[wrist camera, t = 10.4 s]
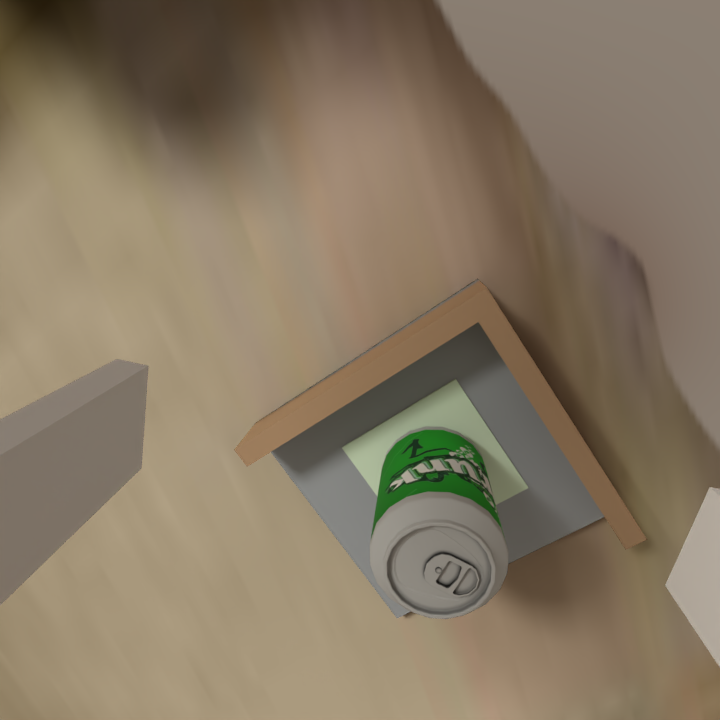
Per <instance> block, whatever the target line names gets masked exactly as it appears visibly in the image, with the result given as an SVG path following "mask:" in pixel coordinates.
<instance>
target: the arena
mask: <svg viewBox="0 0 720 720" xmlns="http://www.w3.org/2000/svg"><path fill="white" fill-rule="evenodd" d="M455 378H456V380H457V381H458V383H459V384H460V386H461V387H462V389H463V390H464V392H465V393H466V395H467V396H468V398H469V399H470V401H471V402H472V404H473V405H474V407H475V408H476V410H477V411H478V413H479V414H480V416H481V417H482V419H483V420H484V422H485V423H486V425H487V426H488V428H489V429H490V431H491V432H492V434H493V435H494V437H495V438H496V440H497V441H498V443H499V444H500V446H501V447H502V449H503V450H504V452H505V453H506V455H507V456H508V457H509V459H510V460H511V462H512V463H513V465H514V466H515V468H516V469H517V471H518V472H519V474H520V475H521V477H522V478H523V480H524V481H525V483H526V484H527V486H528V489H526V490H524V491H522V492H520V493H518V494H516V495H514V496H512V497H510V498H508V499H507V500H505V501H503V502H501V503H499V504H497V505H496V507H497V511H498V515H499V518H500V522H501V526H502V529H503V533H504V537H505V541H506V544H507V548H508V552H509V554H508V564H509V563H511V562H513V561H515V560H517V559H519V558H521V557H523V556H525V555H527V554H529V553H531V552H534V551H536V550H538V549H540V548H542V547H544V546H546V545H548V544H550V543H552V542H554V541H556V540H558V539H560V538H562V537H564V536H566V535H568V534H570V533H572V532H574V531H576V530H578V529H580V528H583V527H585V526H587V525H589V524H591V523H593V522H595V521H597V520H599V519H601V518H603V517H605V518H606V520H607V521H608V523H609V524H610V526H611V527H612V529H613V531H614V532H615V534H616V535H617V537H618V538H619V540H620V541H621V543H622V544H623V546H624V547H625V549H628V548H630V547H633V546H635V545H637V544H639V543H641V542H643V541H645V540H647V539H646V537H645V535H644V534H643V532H642V531H641V529H640V528H639V526H638V524H637V523H636V521H635V520H634V518H633V517H632V515H631V513H630V512H629V510H628V509H627V507H626V506H625V504H624V502H623V501H622V499H621V498H620V496H619V495H618V493H617V491H616V490H615V488H614V487H613V485H612V484H611V482H610V480H609V479H608V477H607V476H606V474H605V473H604V471H603V469H602V468H601V466H600V465H599V463H598V462H597V460H596V458H595V457H594V455H593V454H592V452H591V451H590V449H589V447H588V446H587V444H586V443H585V441H584V440H583V438H582V436H581V435H580V433H579V432H578V430H577V429H576V427H575V425H574V424H573V422H572V421H571V419H570V418H569V416H568V414H567V413H566V411H565V410H564V408H563V407H562V405H561V403H560V402H559V400H558V399H557V397H556V396H555V394H554V392H553V391H552V389H551V388H550V386H549V385H548V383H547V381H546V380H545V378H544V377H543V375H542V374H541V372H540V370H539V369H538V367H537V366H536V364H535V363H534V361H533V359H532V358H531V356H530V355H529V353H528V352H527V350H526V348H525V347H524V345H523V344H522V342H521V341H520V339H519V337H518V336H517V334H516V333H515V331H514V330H513V328H512V326H511V325H510V323H509V322H508V320H507V319H506V317H505V315H504V314H503V312H502V311H501V309H500V308H499V306H498V304H497V303H496V301H495V300H494V298H493V297H492V295H491V293H490V292H489V290H488V289H487V287H486V286H485V285H484V284H483V283H481V282H480V281H479V280H478V279H477V280H475V281H474V282H472V283H471V284H469V285H468V286H466V287H464V288H463V289H461V290H460V291H458V292H457V293H455V294H454V295H452V296H451V297H449V298H447V299H446V300H444V301H443V302H441V303H440V304H438V305H437V306H435V307H434V308H432V309H431V310H429V311H427V312H426V313H424V314H423V315H421V316H420V317H418V318H417V319H415V320H414V321H412V322H410V323H409V324H407V325H406V326H404V327H403V328H401V329H400V330H398V331H397V332H395V333H393V334H392V335H390V336H389V337H387V338H386V339H384V340H383V341H381V342H380V343H378V344H377V345H375V346H373V347H372V348H370V349H369V350H367V351H366V352H364V353H363V354H361V355H360V356H358V357H356V358H355V359H353V360H352V361H350V362H349V363H347V364H346V365H344V366H343V367H341V368H339V369H338V370H336V371H335V372H333V373H332V374H330V375H329V376H327V377H326V378H324V379H323V380H321V381H319V382H318V383H316V384H315V385H313V386H312V387H310V388H309V389H307V390H306V391H304V392H302V393H301V394H299V395H298V396H296V397H295V398H293V399H292V400H290V401H289V402H287V403H286V404H284V405H282V406H281V407H279V408H278V409H276V410H275V411H273V412H272V413H270V414H269V415H267V416H265V417H264V418H262V419H261V420H259V421H258V422H256V423H255V425H254V426H253V427H252V428H251V430H250V431H249V432H248V433H247V434H246V436H245V437H244V438H243V439H242V441H241V442H240V443H239V444H238V446H237V447H236V448H235V449H234V450H235V451H236V453H237V454H238V455H239V457H240V458H241V459H242V461H243V462H244V463H245V464H246V466H249V465H251V464H252V463H254V462H255V461H257V460H259V459H260V458H262V457H263V456H265V455H267V454H268V453H270V452H271V453H272V454H273V456H274V457H275V458H276V459H277V461H278V462H279V463H280V465H281V466H282V467H283V469H284V470H285V471H286V473H287V474H288V475H289V477H290V478H291V479H292V481H293V482H294V483H295V484H296V486H297V487H298V488H299V490H300V491H301V492H302V494H303V495H304V496H305V498H306V499H307V500H308V502H309V503H310V504H311V506H312V507H313V508H314V509H315V511H316V512H317V513H318V515H319V516H320V517H321V519H322V520H323V521H324V523H325V524H326V525H327V527H328V528H329V529H330V531H331V532H332V533H333V535H334V536H335V537H336V538H337V540H338V541H339V542H340V544H341V545H342V546H343V548H344V549H345V550H346V552H347V553H348V554H349V556H350V557H351V558H352V560H353V561H354V562H355V563H356V565H357V566H358V567H359V569H360V570H361V571H362V573H363V574H364V575H365V577H366V578H367V579H368V581H369V582H370V583H371V585H372V586H373V587H374V588H375V590H376V591H377V592H378V594H379V595H380V596H381V598H382V599H383V600H384V602H385V603H386V604H387V606H388V607H389V608H390V610H391V611H392V612H393V614H394V615H395V616H396V617H397V618H399V617H401V616H403V615H405V614H407V613H409V612H411V611H409V610H406V609H405V608H403V607H402V606H400V605H399V604H397V603H396V602H394V601H393V600H392V599H390V598H389V597H388V596H387V594H386V593H385V592H384V591H383V590H382V588H381V587H380V586H379V585H378V584H377V581H376V579H375V576H374V574H373V571H372V568H371V566H370V541H371V534H372V528H373V522H374V515H375V509H376V502H377V495H376V494H375V493H374V491H373V490H372V488H371V487H370V486H369V484H368V483H367V482H366V480H365V479H364V478H363V476H362V475H361V473H360V472H359V471H358V469H357V468H356V467H355V465H354V464H353V463H352V461H351V460H350V458H349V457H348V456H347V454H346V453H345V452H344V450H343V449H342V447H343V446H344V445H346V444H348V443H349V442H351V441H353V440H354V439H356V438H358V437H359V436H361V435H363V434H364V433H366V432H367V431H369V430H371V429H372V428H374V427H376V426H377V425H379V424H381V423H382V422H384V421H386V420H387V419H389V418H391V417H392V416H394V415H396V414H397V413H399V412H401V411H402V410H404V409H406V408H407V407H409V406H411V405H412V404H414V403H416V402H417V401H419V400H421V399H422V398H424V397H426V396H427V395H429V394H431V393H432V392H434V391H436V390H437V389H439V388H440V387H442V386H444V385H445V384H447V383H449V382H450V381H452V380H454V379H455Z"/></svg>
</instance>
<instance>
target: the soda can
mask: <svg viewBox="0 0 720 720" xmlns="http://www.w3.org/2000/svg"><path fill="white" fill-rule="evenodd" d="M508 554H509V552H508V548H507V544H506V541H505V537H504V533H503V529H502V526H501V522H500V518H499V515H498V511H497V507H496V504H495V500H494V496H493V492H492V489H491V485H490V481H489V478H488V474H487V470H486V467H485V464H484V461H483V457H482V454H481V453H480V452H479V450H478V449H477V448H476V446H475V445H474V444H473V442H472V441H471V440H469V439H468V438H466V437H465V436H463V435H462V434H461V433H459V432H457V431H454V430H451V429H448V428H445V427H430V426H425V427H422V428H418V429H415V430H411V431H409V432H407V433H406V434H404V435H403V436H401V437H400V438H398V439H397V440H396V441H395V442H394V444H393V445H392V446H391V447H390V449H389V450H388V451H387V453H386V456H385V459H384V462H383V465H382V470H381V477H380V483H379V490H378V496H377V502H376V509H375V515H374V522H373V528H372V534H371V541H370V566H371V568H372V571H373V574H374V576H375V579H376V581H377V584H378V585H379V586H380V587H381V588H382V590H383V591H384V592H385V593H386V594H387V596H388V597H389V598H390V599H392V600H393V601H394V602H396V603H397V604H399V605H400V606H402V607H403V608H405V609H406V610H409V611H412V612H413V613H416V614H419V615H422V616H425V617H428V618H438V619H449V618H454V617H459V616H463V615H465V614H468V613H470V612H472V611H474V610H476V609H478V608H479V607H481V606H483V605H485V604H486V603H487V602H488V601H489V600H490V599H491V598H492V597H493V596H494V595H495V594H496V593H497V592H498V591H499V590H500V588H501V586H502V584H503V581H504V579H505V577H506V575H507V572H508Z"/></svg>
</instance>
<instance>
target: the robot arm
mask: <svg viewBox="0 0 720 720" xmlns="http://www.w3.org/2000/svg"><path fill="white" fill-rule="evenodd" d="M147 380H148V366H147V365H143V364H138V363H133V362H129V361H124V360H120V359H116V360H114V361H112V362H110V363H108V364H106V365H104V366H103V367H101V368H99V369H97V370H95V371H93V372H91V373H89V374H87V375H85V376H83V377H81V378H79V379H77V380H76V381H74V382H72V383H70V384H68V385H66V386H64V387H62V388H60V389H58V390H56V391H54V392H52V393H50V394H49V395H47V396H45V397H43V398H41V399H39V400H37V401H35V402H33V403H31V404H29V405H27V406H25V407H23V408H21V409H20V410H18V411H16V412H14V413H12V414H10V415H8V416H6V417H4V418H2V419H0V605H1V604H2V603H3V602H4V601H5V600H6V599H7V598H8V597H9V596H10V595H11V594H12V593H13V592H14V591H15V590H16V589H17V588H18V587H19V586H20V585H22V584H23V583H24V582H25V581H26V580H27V579H28V578H29V577H30V576H31V575H32V574H33V573H34V572H35V571H36V570H37V569H38V568H39V567H40V566H41V565H42V564H43V563H44V562H45V561H46V560H47V559H48V558H49V557H50V556H51V555H52V554H54V553H55V552H56V551H57V550H58V549H59V548H60V547H61V546H62V545H63V544H64V543H65V542H66V541H67V540H68V539H69V538H70V537H71V536H72V535H73V534H74V533H75V532H76V531H77V530H78V529H79V528H80V527H81V526H82V525H83V524H84V523H86V522H87V521H88V520H89V519H90V518H91V517H92V516H93V515H94V514H95V513H96V512H97V511H98V510H99V509H100V508H101V507H102V506H103V505H104V504H105V503H106V502H107V501H108V500H109V499H110V498H111V497H112V496H113V495H114V494H115V493H116V492H118V491H119V490H120V489H121V488H122V487H123V486H124V485H125V484H126V483H127V482H128V481H129V480H130V479H131V478H132V477H133V476H134V475H135V474H136V473H137V472H138V471H139V470H140V469H141V467H142V453H143V438H144V423H145V409H146V394H147ZM665 586H666V588H667V589H668V591H669V592H670V594H671V595H672V597H673V598H674V600H675V601H676V603H677V604H678V606H679V607H680V609H681V610H682V612H683V613H684V615H685V616H686V618H687V619H688V621H689V622H690V624H691V625H692V627H693V628H694V630H695V631H696V633H697V634H698V636H699V637H700V639H701V640H702V642H703V643H704V645H705V646H706V648H707V649H708V651H709V652H710V654H711V655H712V657H713V658H714V660H715V661H716V663H717V664H718V666H719V667H720V489H717V488H712V487H710V488H709V490H708V492H707V494H706V496H705V499H704V501H703V503H702V505H701V507H700V510H699V512H698V514H697V516H696V518H695V521H694V523H693V525H692V527H691V529H690V532H689V534H688V536H687V538H686V541H685V543H684V545H683V547H682V549H681V552H680V554H679V556H678V558H677V560H676V563H675V565H674V567H673V569H672V571H671V574H670V576H669V578H668V580H667V582H666V585H665Z"/></svg>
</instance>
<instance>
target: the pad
mask: <svg viewBox="0 0 720 720" xmlns="http://www.w3.org/2000/svg"><path fill="white" fill-rule="evenodd" d="M425 426H430V427H445V428H448V429H451V430H454V431H457V432H459V433H461V434H462V435H463V436H465V437H466V438H468V439H469V440H471V441H472V442H473V444H474V445H475V446H476V448H477V449H478V450H479V452H480V453H481V454H482V457H483V461H484V464H485V467H486V470H487V474H488V478H489V481H490V485H491V489H492V492H493V496H494V500H495V504H496V505H497V504H499V503H501V502H503V501H505V500H507V499H508V498H510V497H512V496H514V495H516V494H518V493H520V492H522V491H524V490H526V489H528V486H527V484H526V483H525V481H524V480H523V478H522V477H521V475H520V474H519V472H518V471H517V469H516V468H515V466H514V465H513V463H512V462H511V460H510V459H509V457H508V456H507V455H506V453H505V452H504V450H503V449H502V447H501V446H500V444H499V443H498V441H497V440H496V438H495V437H494V435H493V434H492V432H491V431H490V429H489V428H488V426H487V425H486V423H485V422H484V420H483V419H482V417H481V416H480V414H479V413H478V411H477V410H476V408H475V407H474V405H473V404H472V402H471V401H470V399H469V398H468V396H467V395H466V393H465V392H464V390H463V389H462V387H461V386H460V384H459V383H458V381H457V380H456V378H455V379H454V380H452V381H450V382H449V383H447V384H445V385H444V386H442V387H440V388H439V389H437V390H436V391H434V392H432V393H431V394H429V395H427V396H426V397H424V398H422V399H421V400H419V401H417V402H416V403H414V404H412V405H411V406H409V407H407V408H406V409H404V410H402V411H401V412H399V413H397V414H396V415H394V416H392V417H391V418H389V419H387V420H386V421H384V422H382V423H381V424H379V425H377V426H376V427H374V428H372V429H371V430H369V431H367V432H366V433H364V434H363V435H361V436H359V437H358V438H356V439H354V440H353V441H351V442H349V443H348V444H346V445H344V446H343V447H342V449H343V450H344V452H345V453H346V454H347V456H348V457H349V458H350V460H351V461H352V463H353V464H354V465H355V467H356V468H357V469H358V471H359V472H360V473H361V475H362V476H363V478H364V479H365V480H366V482H367V483H368V484H369V486H370V487H371V488H372V490H373V491H374V493H375V494H376V495H377V496H378V490H379V483H380V477H381V470H382V465H383V462H384V459H385V456H386V453H387V451H388V450H389V449H390V447H391V446H392V445H393V444H394V442H395V441H396V440H397V439H398V438H400V437H401V436H403V435H404V434H406V433H407V432H409V431H411V430H415V429H418V428H422V427H425Z"/></svg>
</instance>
